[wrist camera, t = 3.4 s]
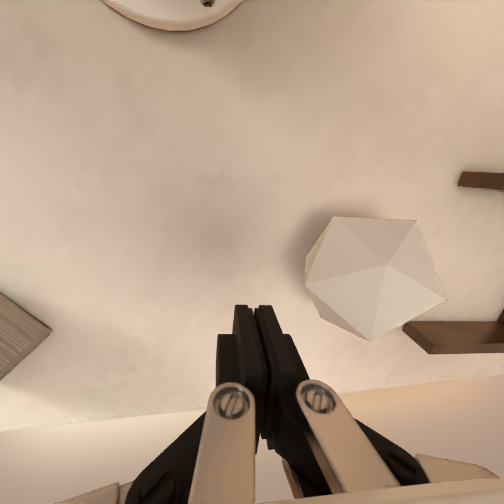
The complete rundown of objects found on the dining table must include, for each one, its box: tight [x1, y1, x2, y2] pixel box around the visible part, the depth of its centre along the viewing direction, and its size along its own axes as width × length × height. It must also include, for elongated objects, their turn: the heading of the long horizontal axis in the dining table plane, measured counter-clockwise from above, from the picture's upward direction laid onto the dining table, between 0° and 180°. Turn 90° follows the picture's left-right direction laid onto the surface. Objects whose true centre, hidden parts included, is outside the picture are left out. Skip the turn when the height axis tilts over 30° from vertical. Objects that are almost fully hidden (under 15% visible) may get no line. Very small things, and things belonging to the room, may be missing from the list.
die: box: [304, 217, 447, 342], centre depth 18 cm, size 8×9×10 cm
